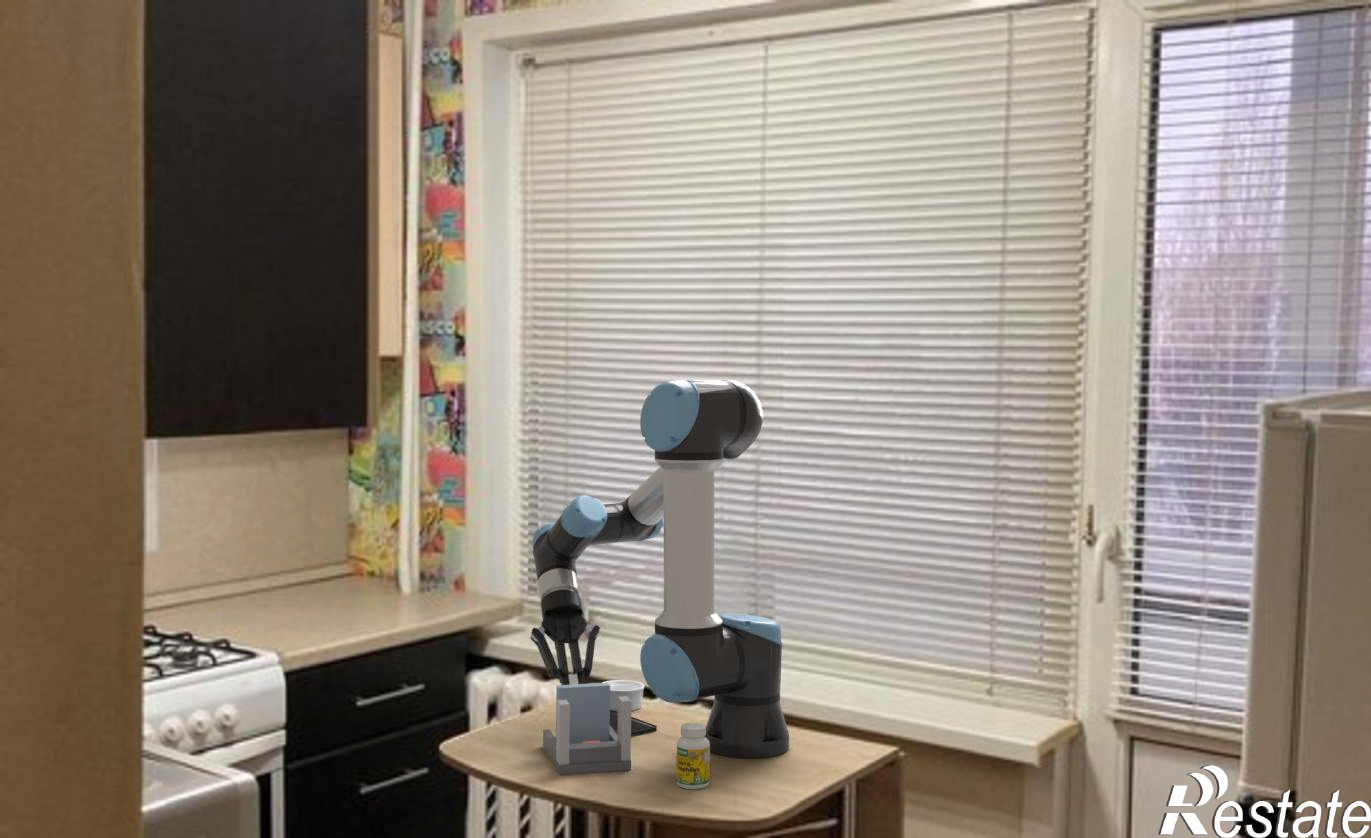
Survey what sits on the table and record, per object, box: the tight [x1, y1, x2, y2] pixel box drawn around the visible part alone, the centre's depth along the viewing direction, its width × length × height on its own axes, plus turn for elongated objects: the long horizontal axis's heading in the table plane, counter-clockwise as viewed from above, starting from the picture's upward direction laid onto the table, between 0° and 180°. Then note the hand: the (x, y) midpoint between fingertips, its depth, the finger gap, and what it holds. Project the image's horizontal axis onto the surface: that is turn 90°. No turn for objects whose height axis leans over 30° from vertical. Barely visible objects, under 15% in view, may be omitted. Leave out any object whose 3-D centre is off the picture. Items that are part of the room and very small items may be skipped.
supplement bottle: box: [675, 722, 711, 790], centre depth 220 cm, size 5×5×10 cm
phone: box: [610, 710, 658, 738], centre depth 254 cm, size 8×1×15 cm
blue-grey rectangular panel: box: [555, 682, 610, 744], centre depth 236 cm, size 2×9×10 cm, turn 106°
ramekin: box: [601, 679, 645, 712], centre depth 267 cm, size 9×9×4 cm
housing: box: [542, 696, 632, 776], centre depth 233 cm, size 16×12×12 cm
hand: (576, 709), depth 241 cm, fingers closed
